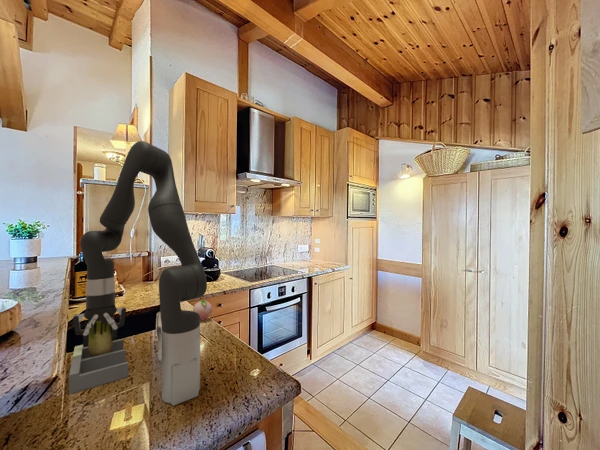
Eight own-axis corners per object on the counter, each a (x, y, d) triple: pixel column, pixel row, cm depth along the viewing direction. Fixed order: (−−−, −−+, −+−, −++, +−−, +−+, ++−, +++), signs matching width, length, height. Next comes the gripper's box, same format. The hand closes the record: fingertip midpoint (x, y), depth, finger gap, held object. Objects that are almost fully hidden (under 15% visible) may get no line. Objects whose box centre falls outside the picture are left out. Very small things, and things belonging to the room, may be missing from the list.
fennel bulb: (86, 361, 80) (87, 322, 80) (92, 354, 85) (93, 317, 85) (109, 357, 82) (109, 320, 82) (113, 351, 87) (114, 315, 87)
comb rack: (128, 376, 75) (128, 358, 75) (68, 394, 67) (68, 373, 67) (123, 349, 92) (123, 334, 92) (75, 361, 84) (75, 345, 84)
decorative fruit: (190, 319, 123) (190, 298, 123) (208, 315, 127) (208, 295, 128) (196, 325, 115) (196, 302, 115) (214, 321, 120) (214, 299, 120)
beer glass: (155, 364, 82) (155, 317, 82) (156, 354, 88) (156, 311, 88) (179, 359, 85) (179, 313, 86) (178, 350, 92) (178, 308, 92)
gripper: (70, 297, 77) (70, 354, 77) (128, 290, 85) (128, 341, 85) (72, 292, 83) (72, 345, 82) (126, 286, 91) (126, 333, 91)
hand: (100, 342), depth 84 cm, fingers closed on fennel bulb, 6 cm apart
